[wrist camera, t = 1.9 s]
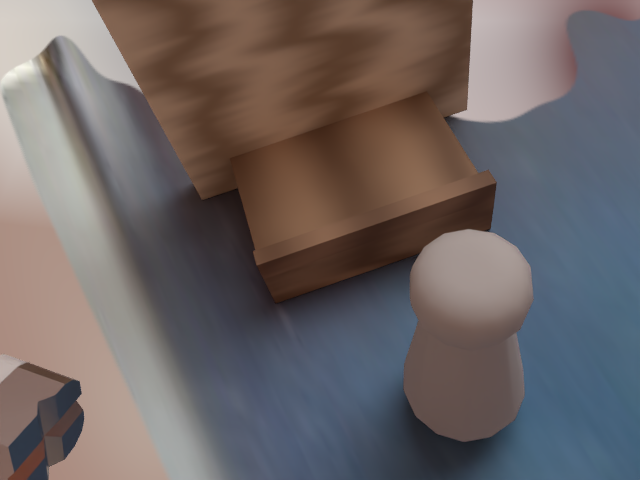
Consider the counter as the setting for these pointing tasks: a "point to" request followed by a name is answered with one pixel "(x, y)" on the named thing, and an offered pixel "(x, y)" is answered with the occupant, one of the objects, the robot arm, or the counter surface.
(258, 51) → the wall board
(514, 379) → the salt shaker
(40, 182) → the counter surface
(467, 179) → the cleat ledge
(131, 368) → the counter surface
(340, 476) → the counter surface
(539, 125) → the counter surface
